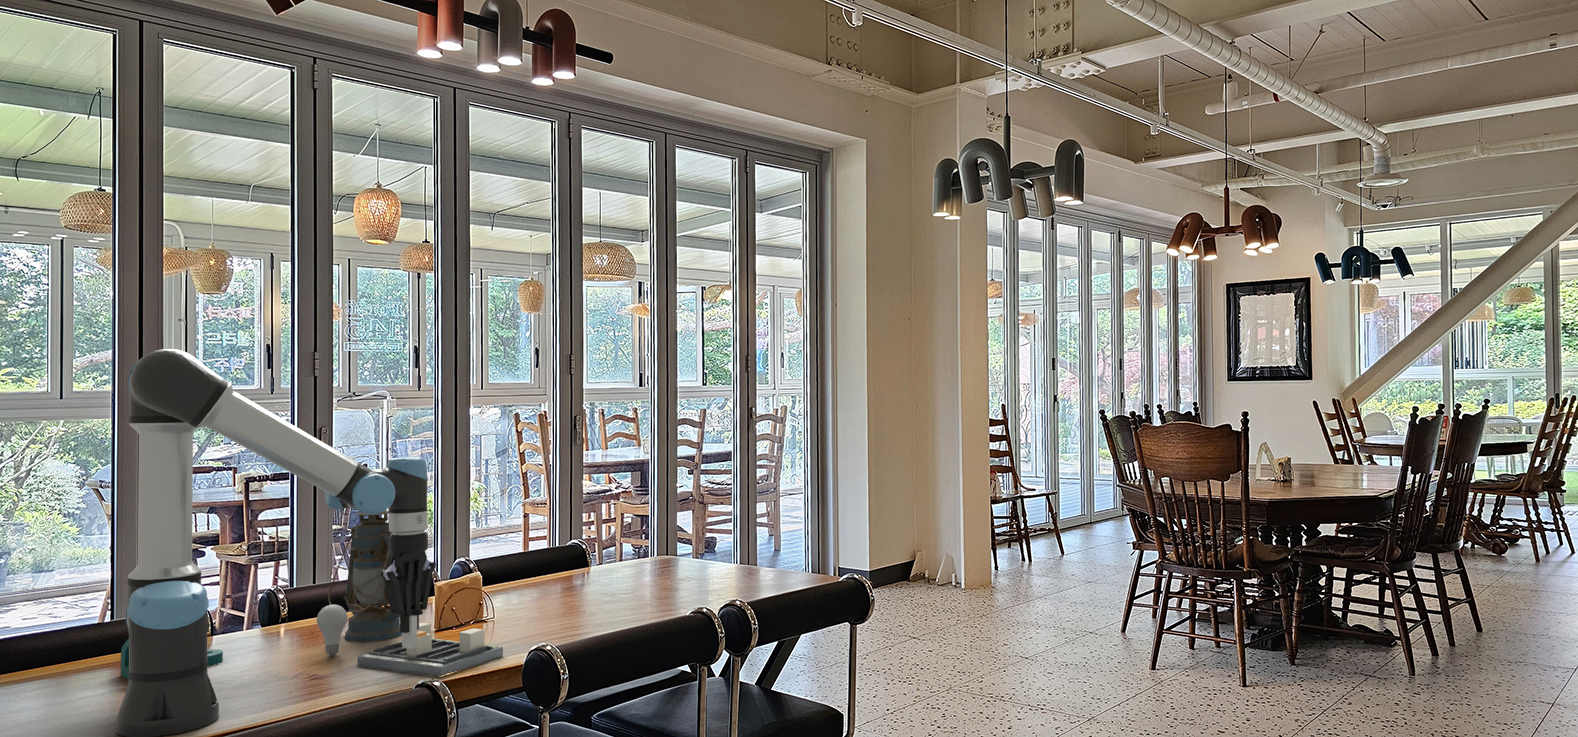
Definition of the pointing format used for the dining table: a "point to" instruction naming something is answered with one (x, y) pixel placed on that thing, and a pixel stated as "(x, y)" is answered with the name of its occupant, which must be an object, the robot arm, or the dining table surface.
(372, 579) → the lantern
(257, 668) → the dining table surface
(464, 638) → the block
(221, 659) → the bracket
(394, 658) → the panel
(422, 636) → the block
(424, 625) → the block
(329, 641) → the lightbulb
